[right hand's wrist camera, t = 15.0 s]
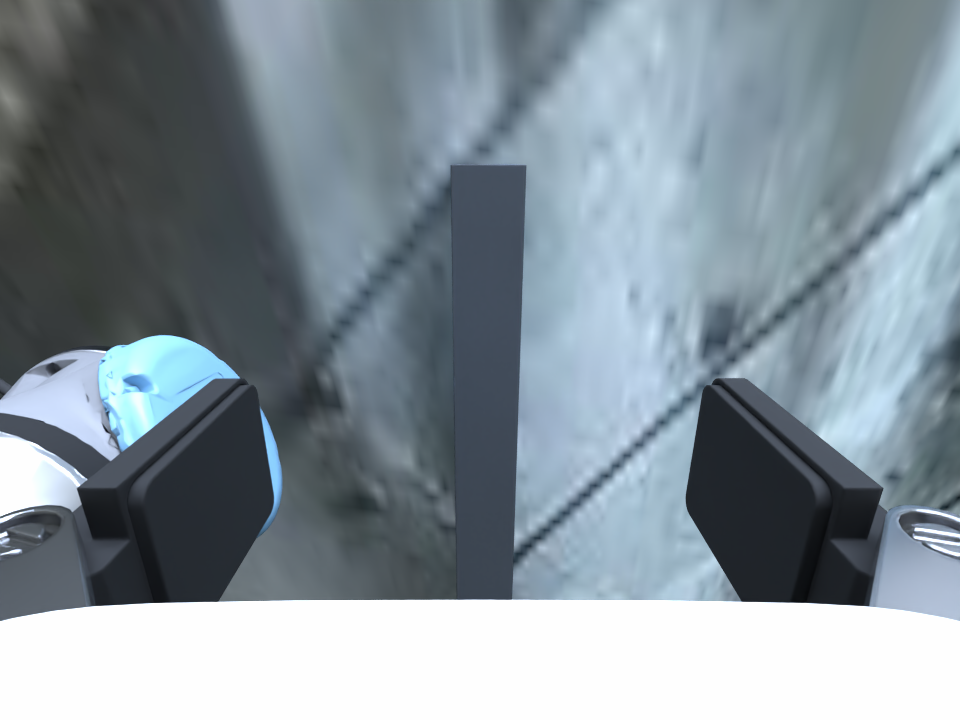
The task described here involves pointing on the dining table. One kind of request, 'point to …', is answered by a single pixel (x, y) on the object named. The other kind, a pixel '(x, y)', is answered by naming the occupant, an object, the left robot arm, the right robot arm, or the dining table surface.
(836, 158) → the dining table surface
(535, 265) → the dining table surface
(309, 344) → the dining table surface
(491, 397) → the bar
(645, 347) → the dining table surface
